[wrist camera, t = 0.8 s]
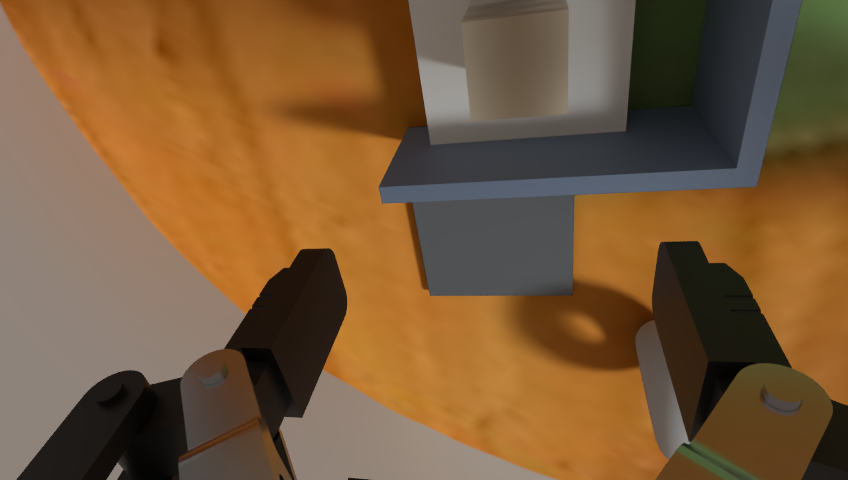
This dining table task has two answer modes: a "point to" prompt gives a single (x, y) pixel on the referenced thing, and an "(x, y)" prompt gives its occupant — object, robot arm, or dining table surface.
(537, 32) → the maple block
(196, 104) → the dining table surface
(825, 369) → the dining table surface
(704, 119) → the slot box
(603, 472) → the dining table surface
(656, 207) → the dining table surface
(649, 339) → the donut
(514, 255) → the rubber mat
